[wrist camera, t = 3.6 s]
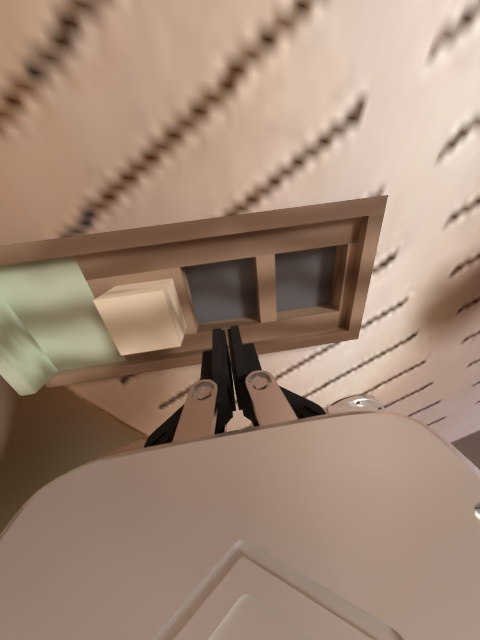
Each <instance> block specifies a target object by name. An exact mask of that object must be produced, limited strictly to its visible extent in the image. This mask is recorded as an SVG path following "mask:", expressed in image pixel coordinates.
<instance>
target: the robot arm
mask: <svg viewBox="0 0 480 640" xmlns="http://www.w3.org/2000/svg"><path fill="white" fill-rule="evenodd" d="M227 332H228V341H229V350H230V357H229V351H228V345H227V340H226V334H225V330H221V328H217V329H213V330H212V350H206V351H203V355H202V367H201V378H200V381H198V382H196V383H195V384H193V385H192V387H191V388H190V390H189V392H188V395H187V398H186V401H185V404H184V405H183V406H182V407H181V408H180V409H178V410H177V411H176V412H175V413H174V414H173V415H172V416H171V417H170V418H169V419H167V420H166V421H165V422H164V423H163V424H162V425H161V426H160V427H159V428H158V429H156V430H155V431H154V432H153V433H152V434H151V435H150V436H149V438H148V439H147V440H145V441H143V440H142V439H141V440H139V441H136V442H134V443H131V444H129V445H126V446H124V447H121V448H119V449H116V450H114V451H111V452H109V453H106V454H104V455H101V456H99V457H97V458H95V459H93V460H92V461H91V462H88V463H86V464H84V465H81V466H79V467H77V468H74V469H73V470H71V471H69V472H67V473H65V474H63V475H61V476H59V477H58V478H56V479H54V480H53V481H51V482H50V483H48V484H47V485H45V486H44V487H43V488H41V489H40V490H39V491H38V492H36V493H35V494H34V495H33V496H32V497H31V498H30V499H29V500H28V501H27V502H26V503H25V504H24V505H23V507H22V508H21V509H20V510H19V511H18V512H17V514H16V515H15V516H14V517H13V519H12V520H11V521H10V523H9V524H8V525H7V527H6V528H5V529H4V531H3V532H2V533H1V535H0V640H480V470H479V469H478V468H477V467H476V466H475V465H474V464H473V463H471V462H470V461H469V460H468V459H467V458H466V457H465V456H464V455H463V454H462V453H461V452H459V451H458V450H457V449H456V448H455V447H454V446H453V445H451V444H450V443H449V442H448V441H447V440H445V439H444V438H443V437H442V436H441V435H439V434H438V433H437V432H435V431H434V430H433V429H431V428H430V427H428V426H427V425H425V424H424V423H422V422H420V421H418V420H416V419H413V418H411V417H408V416H405V415H401V414H397V413H391V412H385V411H384V407H383V405H382V404H381V403H380V402H379V400H377V399H376V398H374V397H372V396H366V395H359V396H353V397H349V398H346V399H343V400H341V401H339V402H337V403H335V404H334V405H332V406H331V405H327V407H326V408H322V407H321V406H319V405H318V404H316V403H314V402H312V401H310V400H308V399H306V398H303V397H301V396H299V395H297V394H295V393H293V392H291V391H289V390H287V389H285V388H282V387H280V386H278V384H277V382H276V380H275V379H274V377H273V376H272V375H271V374H270V373H269V372H267V371H264V370H262V369H261V366H260V362H259V359H258V356H257V353H256V349H255V346H254V343H248V344H242V340H241V335H240V331H239V326H238V325H236V326H230V329H227ZM230 359H231V362H230ZM231 368H232V370H231ZM232 374H233V379H232ZM233 380H234V385H235V391H236V396H237V402H238V407H239V410H242V409H243V415H244V416H245V417H246V418H248V419H249V420H251V424H252V428H246V429H241V430H235V431H230V432H227V423H228V422H229V421H230V419H231V418H233V412H232V411H236V406H235V397H234V388H233Z"/></svg>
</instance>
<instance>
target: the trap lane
mask: <svg viewBox="0 0 480 640" xmlns="http://www.w3.org/2000/svg"><path fill="white" fill-rule="evenodd" d="M387 198H388V195H386V196H378V197H370V198H363V199H355V200H348V201H340V202H332V203H325V204H317V205H310V206H302V207H294V208H287V209H279V210H272V211H264V212H256V213H249V214H241V215H234V216H226V217H218V218H211V219H203V220H196V221H188V222H180V223H173V224H165V225H158V226H150V227H142V228H135V229H127V230H120V231H112V232H104V233H97V234H89V235H82V236H74V237H66V238H59V239H51V240H44V241H36V242H28V243H21V244H13V245H6V246H0V374H1V375H2V376H3V378H4V379H5V380H6V381H7V382H8V383H9V384H10V385H11V386H12V387H13V388H14V389H15V390H16V391H17V392H18V394H19V395H21V396H22V395H29V394H34V393H36V392H37V391H38V390H39V389H40V388H41V387H42V386H43V385H45V386H46V387H47V388H48V387H56V386H62V385H68V384H75V383H81V382H87V381H94V380H100V379H106V378H113V377H119V376H125V375H132V374H138V373H144V372H151V371H157V370H164V369H170V368H176V367H183V366H189V365H195V364H202V355H203V351H206V350H212V330H213V329H217V328H221V330H225V334H226V340H227V345H228V351H229V357H230V350H229V341H228V332H227V329H230V326H236V325H238V326H239V331H240V335H241V340H242V344H248V343H254V346H255V349H256V353H257V355H259V354H265V353H272V352H278V351H284V350H291V349H297V348H303V347H310V346H316V345H322V344H329V343H335V342H341V341H348V340H354V339H358V336H359V332H360V327H361V322H362V317H363V312H364V308H365V303H366V298H367V293H368V289H369V284H370V279H371V274H372V269H373V265H374V260H375V255H376V250H377V245H378V241H379V236H380V231H381V226H382V221H383V217H384V212H385V207H386V202H387ZM170 278H173V282H174V285H175V289H176V292H177V296H178V299H179V303H180V306H181V309H182V313H183V316H184V320H185V323H186V331H185V334H184V337H183V341H182V344H181V346H180V347H174V348H167V349H161V350H154V351H148V352H141V353H135V354H128V355H122V356H121V354H120V352H119V350H118V348H117V347H116V345H115V343H114V341H113V339H112V337H111V335H110V333H109V331H108V329H107V327H106V325H105V323H104V321H103V319H102V317H101V316H100V314H99V312H98V310H97V308H96V306H95V304H94V302H93V300H94V299H96V298H97V297H99V296H101V295H102V294H104V293H105V292H107V291H108V290H110V289H112V288H113V287H115V286H121V285H128V284H135V283H142V282H149V281H156V280H163V279H170Z"/></svg>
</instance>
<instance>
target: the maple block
mask: <svg viewBox="0 0 480 640" xmlns="http://www.w3.org/2000/svg"><path fill="white" fill-rule="evenodd" d="M93 302H94V304H95V306H96V308H97V310H98V312H99V314H100V316H101V317H102V319H103V321H104V323H105V325H106V327H107V329H108V331H109V333H110V335H111V337H112V339H113V341H114V343H115V345H116V347H117V348H118V350H119V352H120V354H121V356H122V355H128V354H135V353H141V352H148V351H154V350H161V349H167V348H174V347H180V346H181V344H182V341H183V337H184V334H185V331H186V323H185V320H184V316H183V313H182V309H181V306H180V303H179V299H178V296H177V292H176V289H175V285H174V282H173V278H170V279H163V280H156V281H149V282H142V283H135V284H128V285H121V286H115V287H113V288H112V289H110V290H108V291H107V292H105V293H104V294H102V295H101V296H99V297H97V298H96V299H94V300H93Z"/></svg>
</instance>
